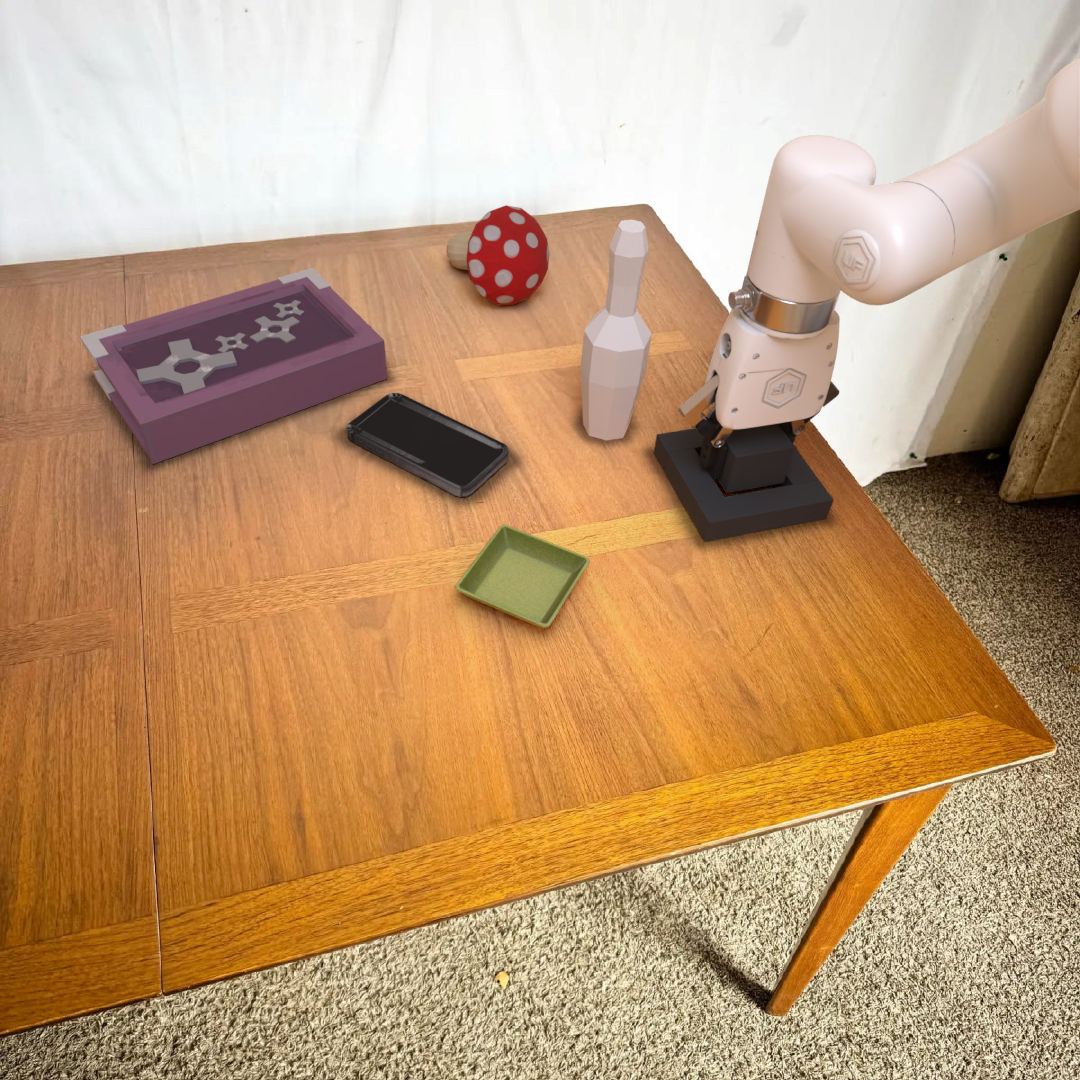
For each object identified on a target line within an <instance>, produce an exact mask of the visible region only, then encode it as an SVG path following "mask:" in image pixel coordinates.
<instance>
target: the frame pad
mask: <svg viewBox="0 0 1080 1080" xmlns="http://www.w3.org/2000/svg"><path fill="white" fill-rule="evenodd" d="M703 439H704V437H703V436H702V435H701V434H700V433H699V432H698V431H697V430H696V429H695V428H693V427H692V428H686V429H680V430H675V431H667V432H663V433H657V434H656V437H655V443H654V449H653V456H654V457H655V459H656V461H657V462H658V464H659V465H660V468H661V469H662V471H663V473H664V474H665V476H666V478H667V480H668V482H669V483H670V485H671V487H672V488H673V490H674V492H675V494H676V495H677V497H678V499H679V501H680V502H681V504H682V506H683V508H684V509H685V511H686V512H687V515H688V516H689V518H690V519H691V521H692V523H693V525H694V527H695V528H696V530H697V532H698V533H699V535H700V537H701V540H702V541H703V543H706V542H712V541H717V540H722V539H727V538H732V537H737V536H743V535H748V534H753V533H759V532H764V531H769V530H774V529H779V528H784V527H790V526H795V525H800V524H806V523H810V522H816V521H820V520H826V519H827V518H828V517H829V513H830V511H831V509H832V505H833V503H834V498H833V497H832V495H831V494H830V492H829V491H828V490H827V488H826V487H825V486H824V484H823V483H822V482H821V480H820V478H819V477H818V476H817V475H816V473H815V471H813V469H812V468H811V466H810V465H809V464H808V462H807V461H806V460H805V458H804V457H803V455H802V454H801V453H800V451H799V450H798V448H797V446H795V450H794V453H793V456H792V459H791V462H790V465H789V468H788V471H787V474H786V477H785V481H784V483H781V484H775V485H774V487H773V488H765V489H761V490H755V491H750V492H745V493H739V494H733V495H727V496H724V494H723V492H722V490H721V488H719V487H720V486H718V484H717V482H716V480H713V478H712V477H711V475H710V473H709V472H708V470H707V468H704V467H703V465H702V464H701V461H700V453H701V447H702V443H703Z"/></svg>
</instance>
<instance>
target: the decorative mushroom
mask: <svg viewBox="0 0 1080 1080" xmlns="http://www.w3.org/2000/svg"><path fill="white" fill-rule="evenodd" d="M446 255H447V259H448V261H449V263H450V264H451V265H452V266H453V267H455V268H456V269H459V270H464V271H468V275H469V279H470V281H471V283H472V284H473V285H474V287H475V289H476V291H477V293H478V294H480V295H481V296H482V297H483V298H485V299H486V300H488V301H489V302H491V303H492V304H494V305H496V306H497V305H499V306H510V307H511V306H513V305H515V304H518V303H520V302H522V301H525V300H527V299H529V298H530V297H531V296H532V295H533V294H534V293H535V292H536V291H537V290H538V288H539V287H540V286H541V285H542V284H543V281H544V280H545V277H546V274H547V272H548V270H549V262H550V255H551V254H550V248H549V243H548V238H547V236H546V234H545V232H544V230H543V228H542V226H541V224H540V223H539V221H538V220H537V219H536V218H535V217H533V215H531V214H530V213H529V212H527V211H526V210H525V209H523V208H522V207H517V206H512V205H507V204H506V205H502V206H500V207H498V208H495V209H492V210H490V211H488V212H486V213H485V214H484V215H483V216H482V217H481V218H480V220H479V221H477V223H476V224H475V225H474V228H473V230H472V232H465V231H464V232H463V231H460V232H458V233H455V234H454V235H453V236H452V237H451V238H450V239H449V241H448V243H447V245H446Z"/></svg>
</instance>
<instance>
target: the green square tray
mask: <svg viewBox="0 0 1080 1080" xmlns="http://www.w3.org/2000/svg"><path fill="white" fill-rule="evenodd" d="M590 563H591V559H590V558H589V557H587V556H586V555H584V554H581V553H578V552H576V551H573V550H571V549H569V548H566V547H563V546H561V545H559V544H555V543H553V542H550V541H548V540H546V539H543V538H541V537H538V536H536V535H533V534H531V533H528V532H526V531H524V530H520V529H518V528H515V527H513V526H510V525H508V524H502V525H500V526H498V528H497V529H496V531H495V532H494V534H493V535H492V536H491V538H490V539H489V540H488V541H487V543H486V545H484V547H483V549H482V550H481V551H480V553H479V554H478V555H477V556H476V558H475V560H474V561H473V562H472V563H471V564H470V566H469V567H468V569H466V571H465V572H464V573H463V575H462V576H461V578H460V579H459V580H458V581H457V583H456V584H455V586H454V587H455V590H456V591H458V592H459V593H460V594H461V595H464V596H465V597H467V598H469V599H472V600H474V601H476V602H479V603H482V604H483V605H485V606H488V607H491V608H492V609H495V610H497V611H500V612H502V613H505V614H507V615H510V616H512V617H514V618H517V619H518V620H521V621H523V622H526V623H528V624H531V625H533V626H535V627H538V628H541V629H546V628H549V627H550V626H551V625H552V623H553V621H554V620H555V618H556V616H557V615H558V613H559V612H560V610H561V608H562V607H563V606H564V604H565V603H566V601H567V599H568V597H569V596H570V594H571V593H572V591H573V590H574V588H575V586H576V584H577V583H578V582H579V580H580V579H581V577H582V575H583V574H584V572H585V570H586V569H587V567H588V566H589V564H590Z"/></svg>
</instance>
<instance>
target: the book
mask: <svg viewBox="0 0 1080 1080" xmlns="http://www.w3.org/2000/svg"><path fill="white" fill-rule="evenodd" d="M79 338H80V341H81V343H82V346H83V347H84V348H85V350H86V351H87V354H88V355H89V356H90V358H91V359H92V361H93V362H94V364H95V365H96V367H99V369H96V370H93V375H94V378H95V380H96V381H97V383H98V385H99V386H100V388H101V389H102V390H103V392H104V394H105V395H106V397H107V398H108V400H109V401H110V402H111V403H112V405H114V408H115V409H116V411H117V412H118V414H119V415H120V417H121V418H122V420H123V422H125V424H126V426H127V427H128V429H129V430H130V432H131V433H132V435H133V436H134V438H135V440H136V441H137V442H138V444H139V445H140V447H141V448H142V450H143V451H144V453H145V454H146V456H147V458H148V459H149V460H150V462H151V464H152V465H155V464H158V463H160V462H163V461H167V460H169V459H171V458H174V457H177V456H180V455H183V454H185V453H187V452H190V451H193V450H197V449H199V448H202V447H204V446H206V445H209V444H213V443H215V442H219V441H220V440H221V441H222V440H224V439H227V438H229V437H232V436H234V435H238V434H240V433H242V432H246V431H247V430H252V429H253V428H256V427H258V426H261V425H265V424H268V423H270V422H272V421H275V420H278V419H281V418H283V417H287V416H290V415H292V414H294V413H297V412H300V411H303V410H306V409H308V408H311V407H313V406H316V405H319V404H322V403H325V402H328V401H330V400H333V399H335V398H338V397H342V396H344V395H346V394H349V393H352V392H355V391H357V390H360V389H363V388H365V387H368V386H371V385H374V384H377V383H379V382H382V381H385V380H387V379H388V373H387V372H388V371H387V358H386V357H387V356H386V345H385V340H384V338H383V337H382V336H381V335H379V334H378V332H377V331H376V330H375V329H374V328H373V327H372V326H371V325H369V323H367V321H365V320H364V319H363V318H362V317H361V315H359V314H358V313H357V312H356V311H355V310H354V309H353V307H351V306H350V305H349V304H348V303H347V302H346V301H345V300H344V299H343V298H342V297H341V296H340V295H339V294H338V293H337V292H336V290H334V289H333V288H332V286H331V284H330V283H329V282H328V281H327V280H326V279H325V278H324V277H322V275H321V274H320V273H318V272H317V271H316V269H315V268H314V267H310V268H306V269H303V270H300V271H296V272H293V273H289V274H286V275H284V276H279V277H277V279H275V280H271V281H268V282H265V283H261V284H258V285H255V286H251V287H247V288H245V289H241V290H238V291H235V292H231V293H228V294H224V295H220V296H218V297H214V298H210V299H207V300H204V301H201V302H197V303H194V304H190V305H188V306H187V305H186V306H184V307H181V308H176V309H174V310H171V311H166V312H164V313H160V314H157V315H153V316H149V317H147V318H143V319H140V320H136V321H133V322H130V323H127V324H123V323H121V324H118V325H113V326H111V327H107V328H104V329H101V330H97V331H94V332H90V333H87V334H84V335H81V336H79Z"/></svg>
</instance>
